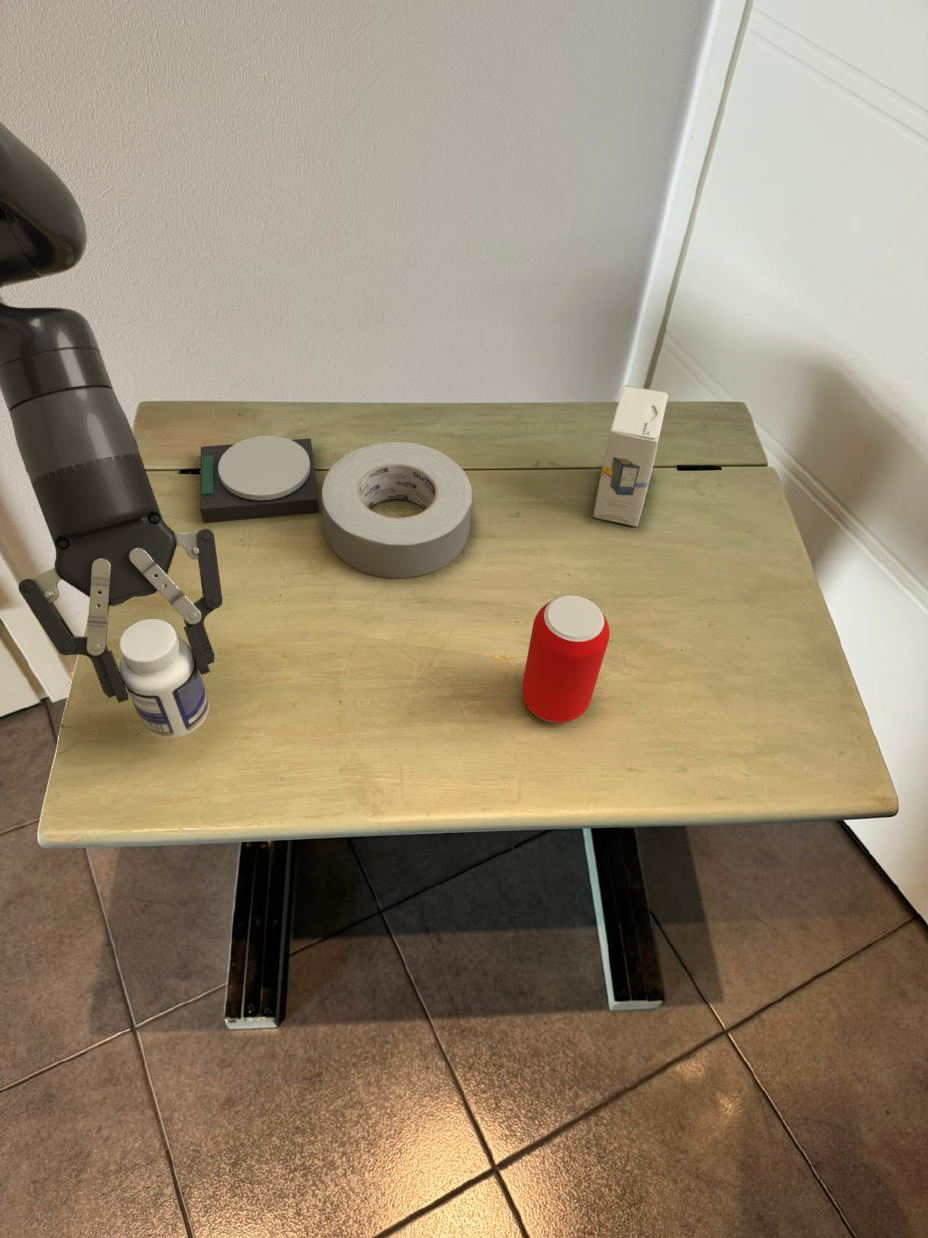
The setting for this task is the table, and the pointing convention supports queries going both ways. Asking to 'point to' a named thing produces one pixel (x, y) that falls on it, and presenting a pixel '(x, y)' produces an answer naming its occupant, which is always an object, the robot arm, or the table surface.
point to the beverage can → (564, 658)
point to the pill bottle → (162, 679)
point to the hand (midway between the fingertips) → (165, 685)
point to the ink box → (630, 455)
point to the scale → (257, 479)
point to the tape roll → (389, 539)
